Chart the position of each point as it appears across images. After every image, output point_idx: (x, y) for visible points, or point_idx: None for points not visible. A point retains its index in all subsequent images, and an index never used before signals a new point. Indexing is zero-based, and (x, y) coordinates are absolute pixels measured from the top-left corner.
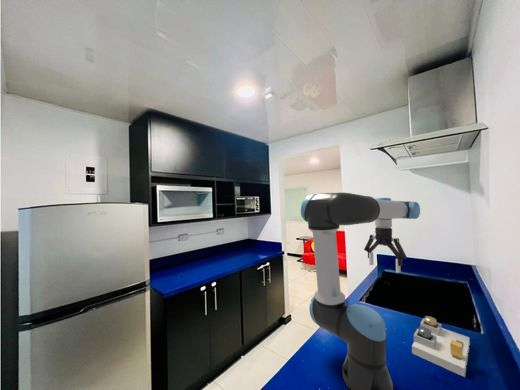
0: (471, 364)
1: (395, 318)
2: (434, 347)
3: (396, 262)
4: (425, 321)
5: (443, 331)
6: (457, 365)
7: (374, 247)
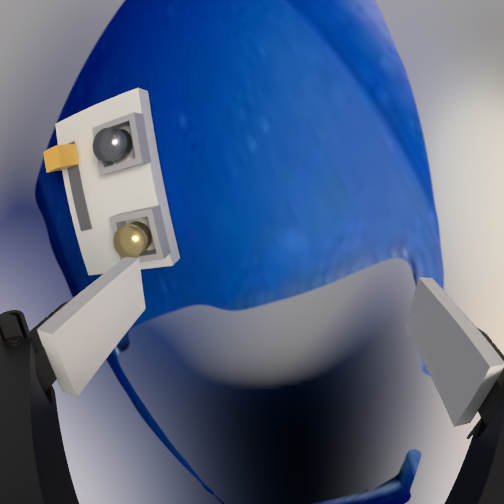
0: None
1: (264, 243)
2: None
3: (73, 307)
4: (142, 229)
5: None
6: (63, 120)
7: (469, 490)
